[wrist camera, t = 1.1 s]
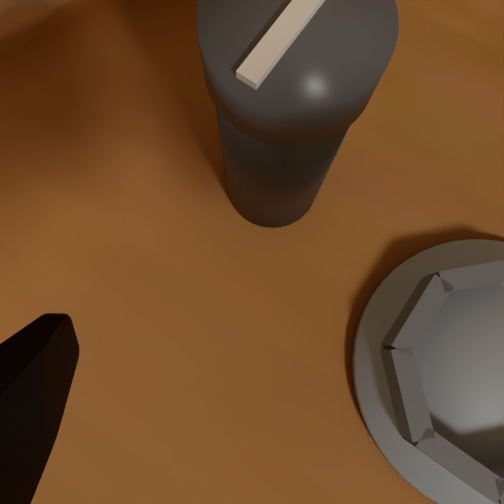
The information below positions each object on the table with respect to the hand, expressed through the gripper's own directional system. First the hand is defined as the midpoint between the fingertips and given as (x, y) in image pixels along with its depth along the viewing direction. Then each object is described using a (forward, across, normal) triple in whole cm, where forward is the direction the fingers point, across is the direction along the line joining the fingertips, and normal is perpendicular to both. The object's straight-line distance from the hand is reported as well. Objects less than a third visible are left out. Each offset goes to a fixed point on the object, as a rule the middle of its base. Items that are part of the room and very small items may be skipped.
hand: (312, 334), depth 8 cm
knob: (+15, 0, +4) cm, 16 cm away
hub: (+8, -10, +10) cm, 17 cm away
